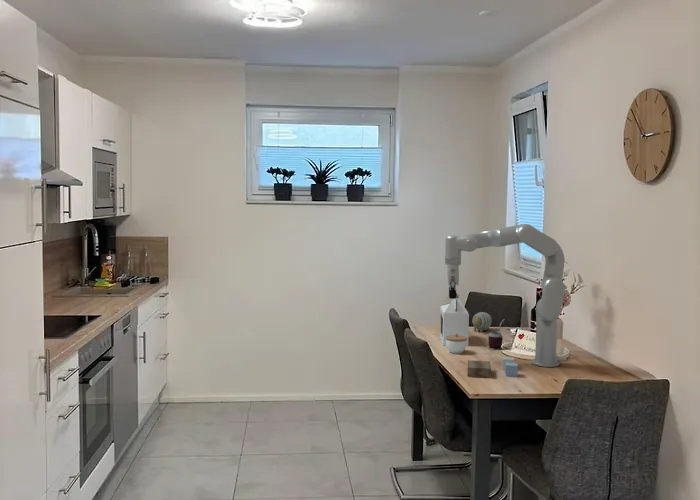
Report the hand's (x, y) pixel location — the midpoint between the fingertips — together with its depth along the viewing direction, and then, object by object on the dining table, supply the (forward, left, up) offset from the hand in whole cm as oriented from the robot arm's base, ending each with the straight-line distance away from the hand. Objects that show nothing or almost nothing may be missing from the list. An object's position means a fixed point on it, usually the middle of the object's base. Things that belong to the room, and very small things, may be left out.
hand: (452, 297), depth 314 cm
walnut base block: (-13, +22, -31) cm, 40 cm away
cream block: (-26, +11, -31) cm, 42 cm away
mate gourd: (-22, -29, -31) cm, 48 cm away
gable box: (0, -41, -31) cm, 51 cm away
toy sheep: (-16, -72, -31) cm, 80 cm away
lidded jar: (-2, -16, -31) cm, 35 cm away
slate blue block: (-27, +22, -31) cm, 46 cm away
